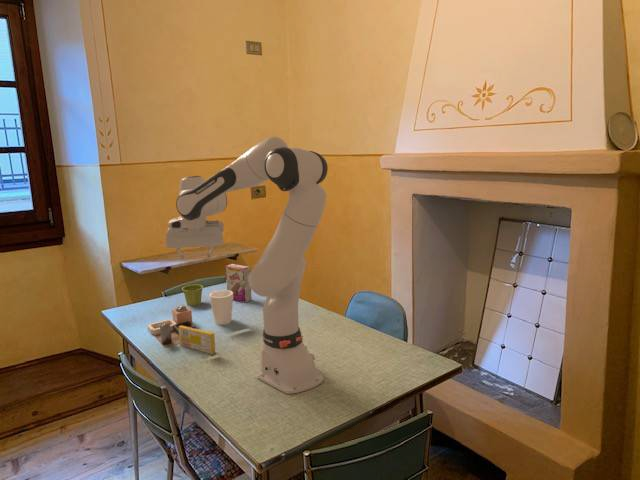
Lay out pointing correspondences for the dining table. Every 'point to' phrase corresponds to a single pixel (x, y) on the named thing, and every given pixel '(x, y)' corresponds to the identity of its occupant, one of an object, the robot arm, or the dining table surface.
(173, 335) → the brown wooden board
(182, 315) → the terracotta square box
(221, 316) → the foam cup
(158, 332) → the trough
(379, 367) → the dining table surface
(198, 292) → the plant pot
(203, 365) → the dining table surface
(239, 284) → the candy bar box
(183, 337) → the candy box
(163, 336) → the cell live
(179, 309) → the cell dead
